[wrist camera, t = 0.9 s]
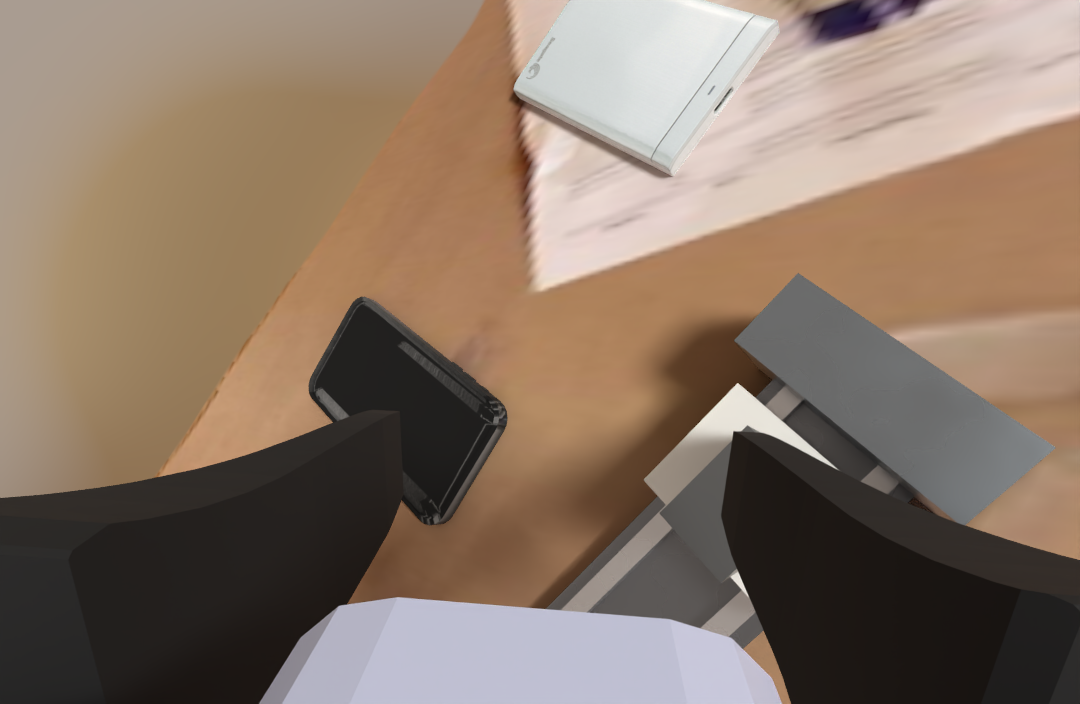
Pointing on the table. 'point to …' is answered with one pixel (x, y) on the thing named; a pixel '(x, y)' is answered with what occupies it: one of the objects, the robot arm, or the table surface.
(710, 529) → the carriage
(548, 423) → the table surface
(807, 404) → the rail base
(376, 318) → the phone
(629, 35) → the hard drive
